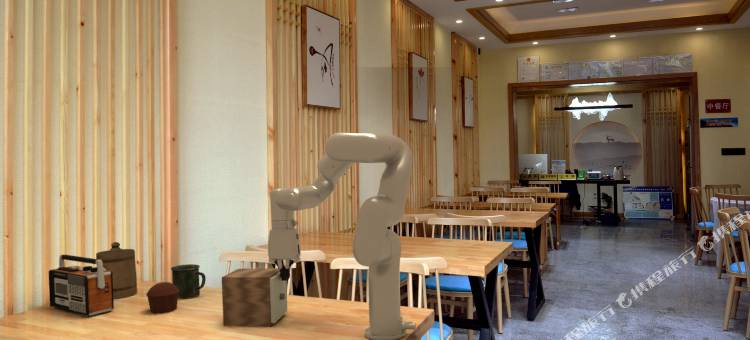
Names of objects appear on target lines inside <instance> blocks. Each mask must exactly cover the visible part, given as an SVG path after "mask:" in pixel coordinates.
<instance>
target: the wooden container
mask: <svg viewBox="0 0 750 340" xmlns="http://www.w3.org/2000/svg"><path fill="white" fill-rule="evenodd" d="M110 244H111V245H110V246H111V248H110V249H107V250H104V251H103V250H102V251H98V252H96V253H95V256H96V257H95V259H99V260H102V263H103V270H104V271H111V272H112V273H113V299H114V300H115V299H124V298H129V297H131V296H134V295H136V294H138V284H137V282H138V281H137V277H138V276H137V266H136V251H135V249H134V248H121V247H120V246H121V243H120V242H116V241H115V242H112V243H110ZM96 267H98V266H97V265H96Z"/></svg>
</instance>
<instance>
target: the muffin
mask: <svg viewBox="0 0 750 340" xmlns="http://www.w3.org/2000/svg"><path fill="white" fill-rule="evenodd" d="M179 291H180V290H179V289H178V288H177V287H176V286H175V285H174V284H172V282H168V281H162V282H158V283H155V284H154V285H153V286H151V287H150V288H149V289H148V291H147V292H146V297H147V301H148V306H149V311H150V313H151V314H156V315H160V314H169V313H171V312H172V313H173V312H175V310H177V309H178V302H179V299H178V293H179Z"/></svg>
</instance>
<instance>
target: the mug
mask: <svg viewBox="0 0 750 340" xmlns="http://www.w3.org/2000/svg"><path fill="white" fill-rule="evenodd" d="M200 267H201V266H200V265H199V264H194V263H193V264H192V263H191V264H180V265H175V266H172V267H171V268H170V270H171V278H172V279H171V280H172V281H171V283H172V284H174V285H175V286H176V287H177V288H178V289H179V290H180V291H179V293H178V300H186V299H187V300H188V299H193V298H197V297H199V295H201V294H200V293H201V292H200V291H201V289H203V288H204V286H205V284H206V281H207V280H206V279H207V277H206V274H205V273H203V272H201V271H200ZM200 276H201V284H200Z"/></svg>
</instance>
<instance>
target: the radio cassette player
mask: <svg viewBox="0 0 750 340" xmlns="http://www.w3.org/2000/svg"><path fill="white" fill-rule="evenodd" d="M65 260H66V261H73V262H79V263H83V264H84V263H85V264H91V265H86V266H79V265H70V266H66V264H65V263H66V262H65ZM92 265H96V266H92ZM97 266H98V267H97ZM48 286H49V287H48V288H49V291H48V293H49V306H50V307H51V308H54V309H56V310H62V311H65V312H69V313H73V314H78V315H81V316H85V317H86V318H87V317H88V318H89V317H91V316H95V315H98V314H102V313H108V312H110V311H112V310H115V307H114V306H115V305H114V304H115V303H114V301H115V299H113V273H112V272H111V271H104V270H103V263H102V260H99V259H96V258H91V257H85V256H84V257H83V256H78V255H70V254H60V255H59V258H58V267H57V268H54V269H49V270H48Z"/></svg>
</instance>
